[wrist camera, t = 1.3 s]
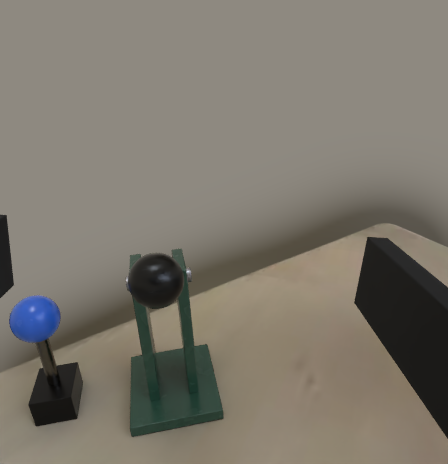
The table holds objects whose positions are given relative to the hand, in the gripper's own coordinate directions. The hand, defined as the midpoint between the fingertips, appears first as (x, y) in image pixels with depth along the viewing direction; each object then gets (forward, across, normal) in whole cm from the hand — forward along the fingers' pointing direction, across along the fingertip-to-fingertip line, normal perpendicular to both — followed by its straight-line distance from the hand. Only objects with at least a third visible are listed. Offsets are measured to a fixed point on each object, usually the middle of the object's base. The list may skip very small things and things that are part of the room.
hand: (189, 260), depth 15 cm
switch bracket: (+22, -2, -25) cm, 33 cm away
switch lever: (+15, -3, -10) cm, 18 cm away
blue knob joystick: (+21, -14, -26) cm, 37 cm away
